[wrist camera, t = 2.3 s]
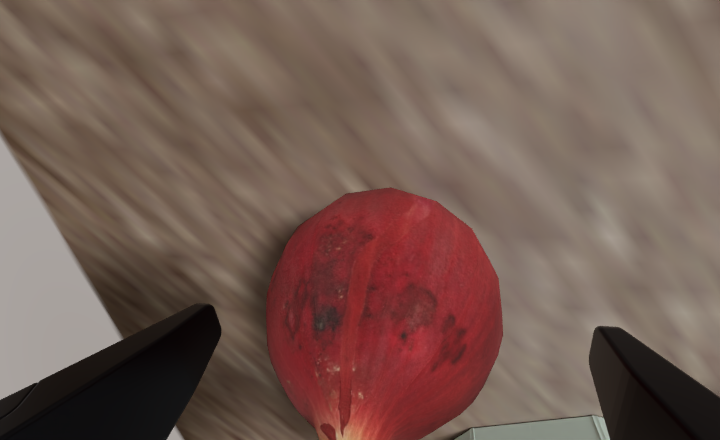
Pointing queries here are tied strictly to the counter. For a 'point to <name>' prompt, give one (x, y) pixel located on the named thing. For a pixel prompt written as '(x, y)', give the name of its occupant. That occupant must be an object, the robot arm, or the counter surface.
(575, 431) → the plate
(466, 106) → the counter surface
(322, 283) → the onion
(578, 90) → the counter surface
